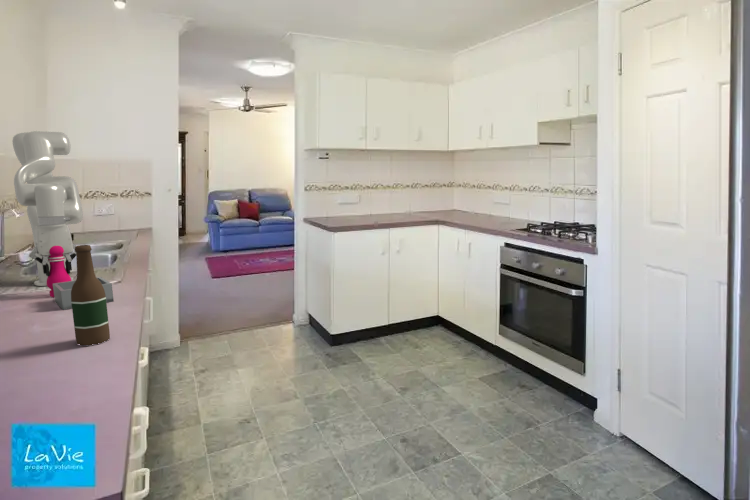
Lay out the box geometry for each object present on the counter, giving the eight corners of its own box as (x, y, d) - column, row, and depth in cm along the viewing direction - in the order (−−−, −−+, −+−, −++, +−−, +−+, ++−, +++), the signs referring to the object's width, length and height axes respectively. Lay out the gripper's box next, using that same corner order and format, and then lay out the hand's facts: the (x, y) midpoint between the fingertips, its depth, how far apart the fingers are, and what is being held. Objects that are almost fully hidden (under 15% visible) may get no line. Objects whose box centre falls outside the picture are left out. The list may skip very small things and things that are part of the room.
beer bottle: (101, 333, 123) (91, 242, 119) (117, 339, 119) (107, 244, 115) (69, 342, 117) (57, 246, 113) (84, 349, 113) (72, 249, 109)
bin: (54, 301, 156) (52, 283, 155) (102, 293, 165) (100, 276, 164) (63, 310, 146) (60, 291, 145) (113, 301, 155) (111, 283, 154)
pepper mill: (60, 298, 160) (53, 239, 156) (42, 297, 161) (35, 238, 158) (78, 292, 167) (71, 236, 163) (60, 291, 168) (53, 235, 165)
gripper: (78, 218, 168) (84, 269, 171) (18, 222, 157) (26, 276, 160) (83, 220, 163) (89, 272, 166) (21, 224, 151) (29, 280, 154)
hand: (58, 273), depth 163 cm, fingers closed on pepper mill, 5 cm apart
